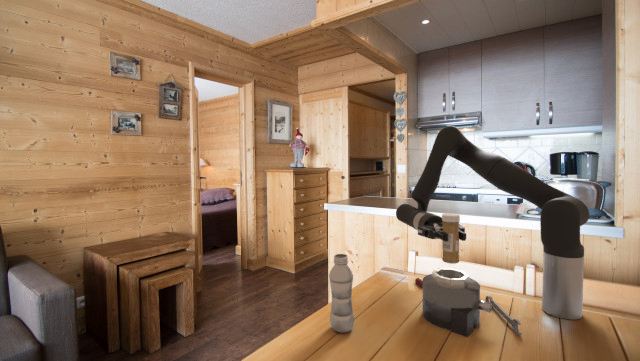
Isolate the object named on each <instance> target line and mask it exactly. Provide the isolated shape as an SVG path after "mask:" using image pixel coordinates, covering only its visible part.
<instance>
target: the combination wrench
mask: <svg viewBox="0 0 640 361" xmlns="http://www.w3.org/2000/svg"><path fill="white" fill-rule="evenodd" d="M485 302H489V303H491V304H492V308H494V309H495V310H496V311H497V312H498V314H500V315H501V316H502V317H503V318H504V319H505V320H506V321H507V322H508V323H509V324H510V326H511V327H512V330H513V333H514V334H515V335H516V336H522V334H523V333H522V332H521V331H519V326H521V325H522V324H521V322H520V320H519V319H518V318H513V319H512V317H510V315H509V314H508V313H507V312H506V311H504V309H503V308H501V306H500V305H499V304H498V303H496V301H495V300H494V299H493V296H491V295H486V296H485Z"/></svg>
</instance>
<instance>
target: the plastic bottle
mask: <svg viewBox="0 0 640 361" xmlns="http://www.w3.org/2000/svg"><path fill="white" fill-rule="evenodd" d="M348 258H349V256H348V255H347V254H345V253H337V254H334V256H333V266H332V268H331V269H330V271H329V274H328V276H329V277H328V278H329V285H330V292H331V308H330V309H331V311H330V314H329V315H330V316H329V317H330V318H329V322H330V326H331V328H332V330H333V331H335V332H337V333H349V332H351V331H352V329H353V328H354V327H355V316H354V315H355V314H354V311H353V301H352V299H353V297H352V294H353V293H352V291H353V282H354V274H353V271H352V269H351V267H349V265H348V264H349V260H348Z"/></svg>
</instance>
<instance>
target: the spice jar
mask: <svg viewBox="0 0 640 361" xmlns="http://www.w3.org/2000/svg"><path fill="white" fill-rule="evenodd" d="M441 217H442V222H443V232H445V233H447V234H448V241H447V242H445V241H443V240H441V241H442V242H441V243H442V245H441V248H442V249H441V250H442V258H441V260H442V262H444V263H446V264H451V265H452V264H453V265H454V264H458V263H459V262H460V239H459V224H460V219H461V217H460V214H458V213H452V212H449V213H447V212H446V213H442V214H441Z"/></svg>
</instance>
